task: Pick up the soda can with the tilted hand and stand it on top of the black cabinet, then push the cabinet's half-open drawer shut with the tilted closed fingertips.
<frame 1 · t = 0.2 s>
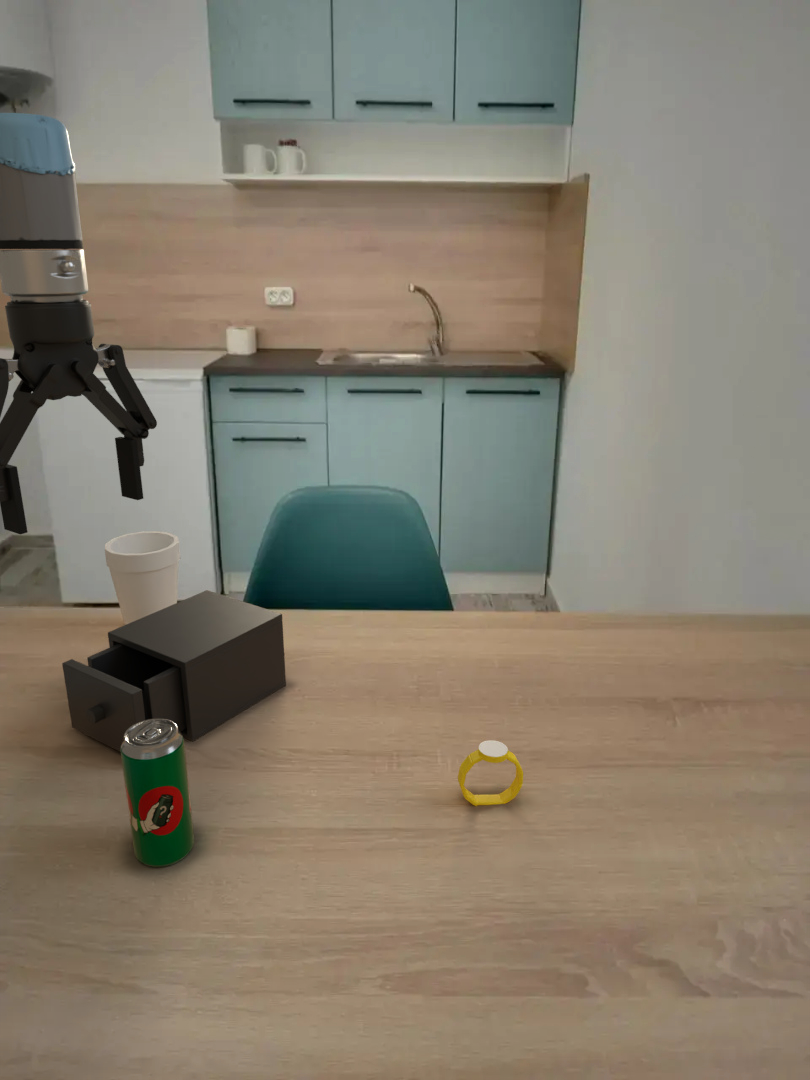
hand: (78, 513, 85), 24 cm above the table, tool pointing down, fingers open, 13 cm apart
soda can: (165, 852, 72), on the table
watch: (489, 803, 79), on the table
drawer: (148, 687, 90), point 5 cm above the table, slide at 5.0 cm
cabinet: (203, 697, 97), on the table
foam cup: (152, 633, 113), on the table
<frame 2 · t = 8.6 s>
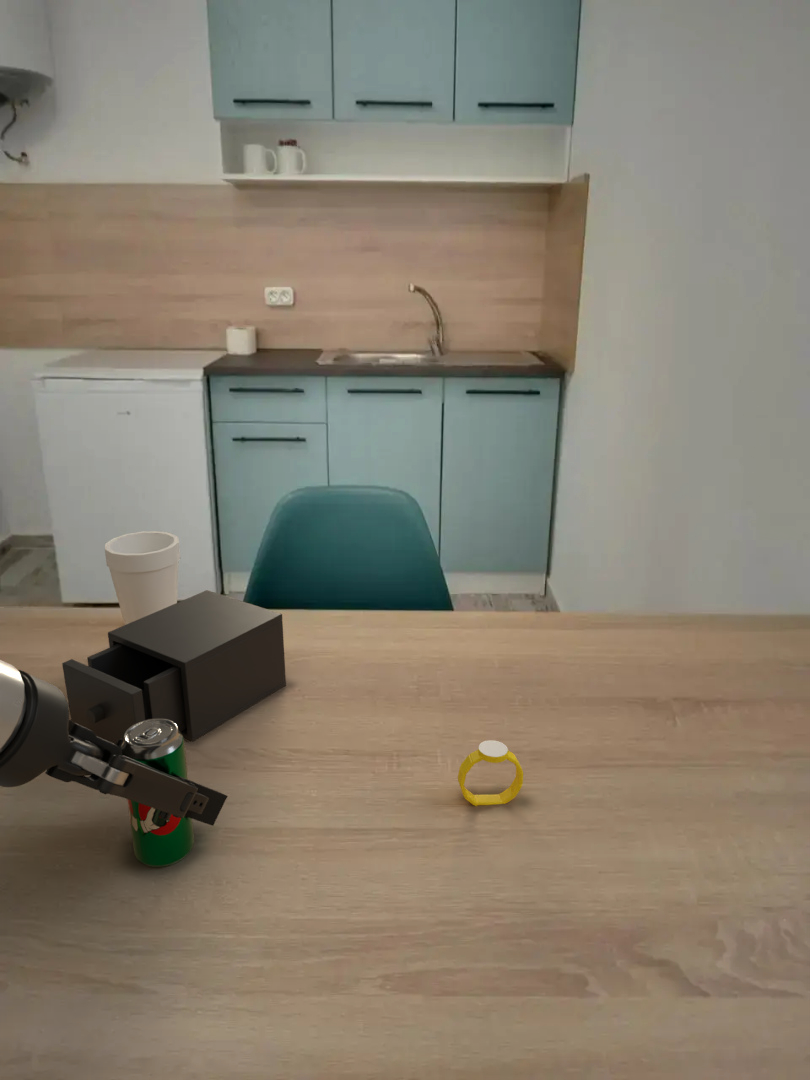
hand: (194, 797, 74), 3 cm above the table, tool tilted 45°, fingers closed on soda can, 5 cm apart
soda can: (165, 852, 72), on the table, touching gripper
everything else where it was.
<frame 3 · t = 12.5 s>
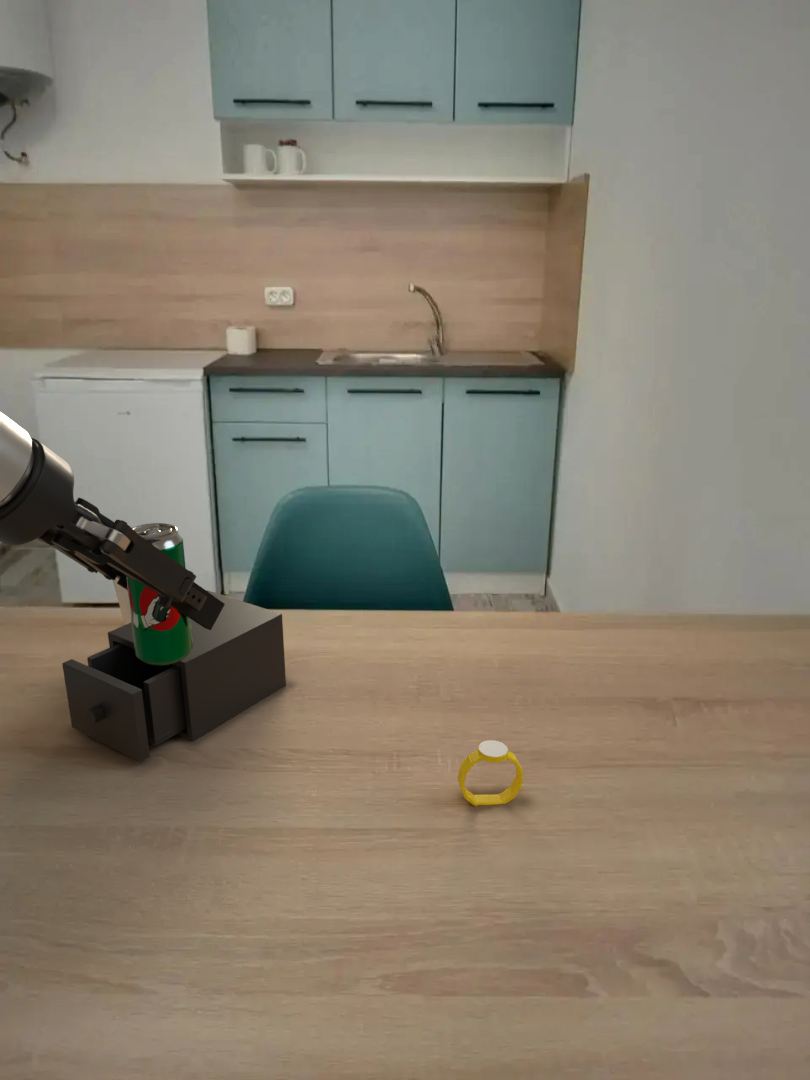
hand: (193, 608, 77), 18 cm above the table, tool tilted 45°, fingers closed on soda can, 5 cm apart
soda can: (164, 656, 76), point 14 cm above the table, touching gripper
everything else where it was.
when the fingers open (13 cm above the table, at t = 16.6 s): soda can stays where it is, resting on cabinet.
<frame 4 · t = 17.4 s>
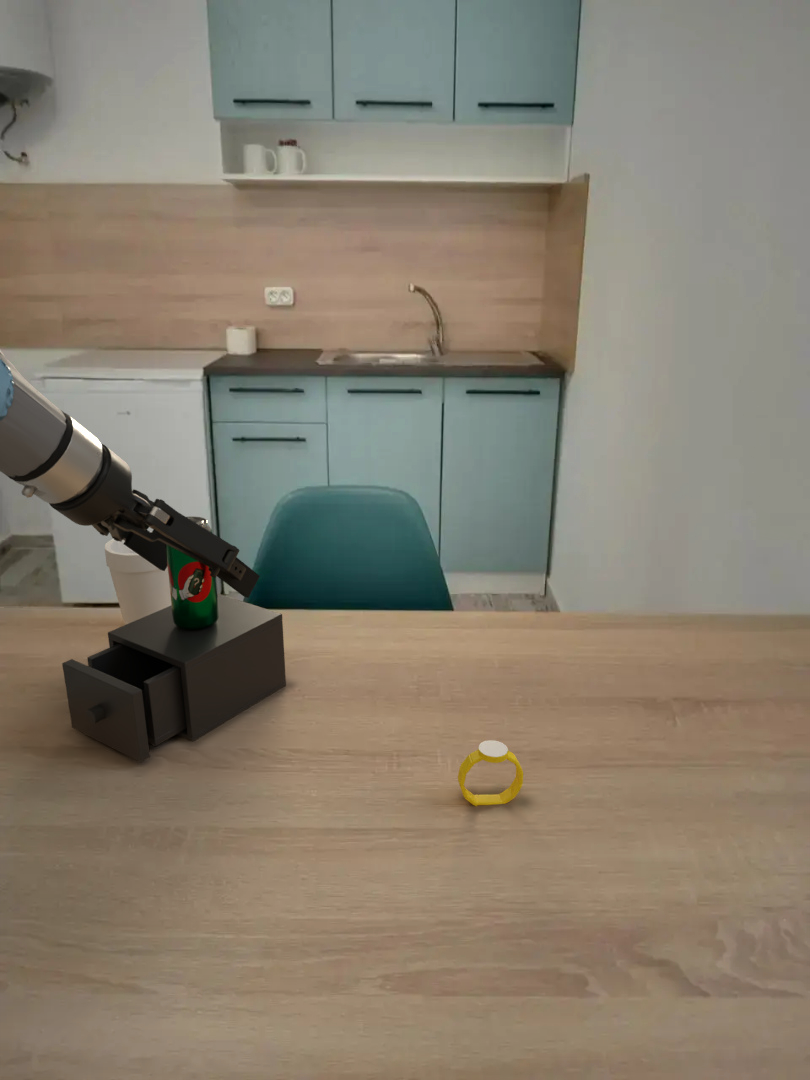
hand: (208, 573, 94), 15 cm above the table, tool tilted 45°, fingers open, 13 cm apart
soda can: (196, 624, 94), point 9 cm above the table, touching cabinet
everything else where it was.
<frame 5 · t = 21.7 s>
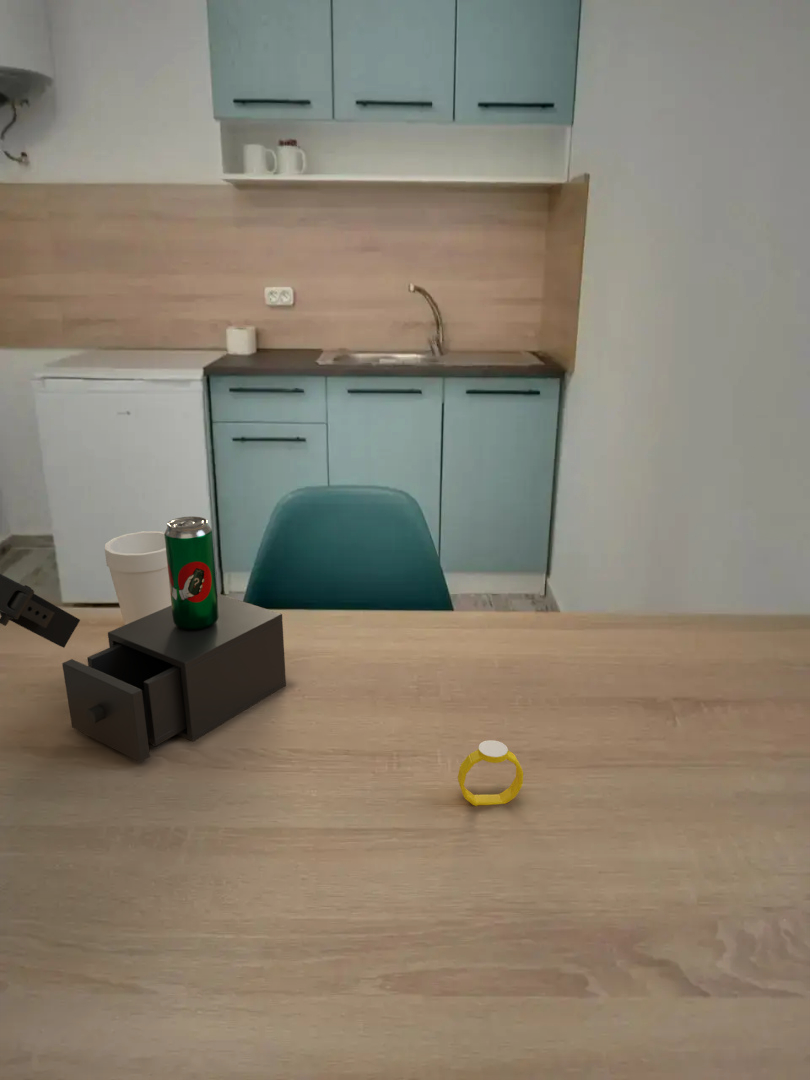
hand: (24, 614, 76), 18 cm above the table, tool tilted 45°, fingers open, 13 cm apart
nothing on the table moved.
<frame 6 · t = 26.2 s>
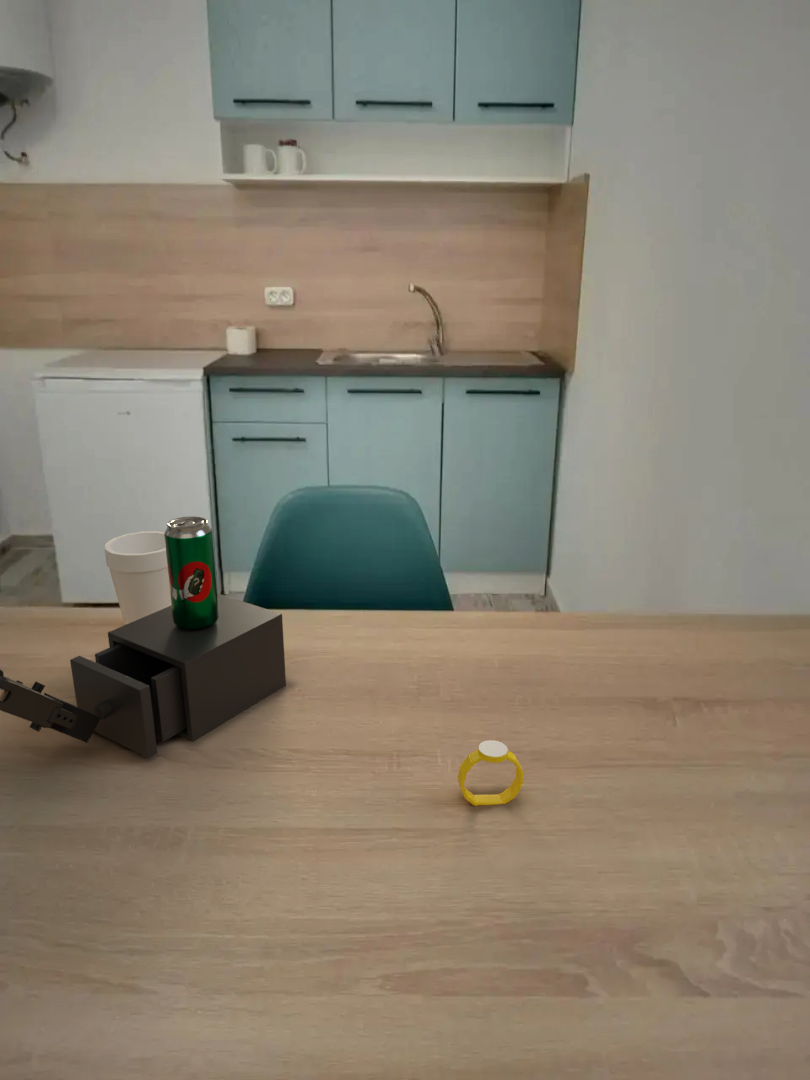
hand: (89, 727, 84), 4 cm above the table, tool tilted 45°, fingers closed
drawer: (155, 683, 90), point 5 cm above the table, slide at 4.1 cm, touching gripper
everything else where it was.
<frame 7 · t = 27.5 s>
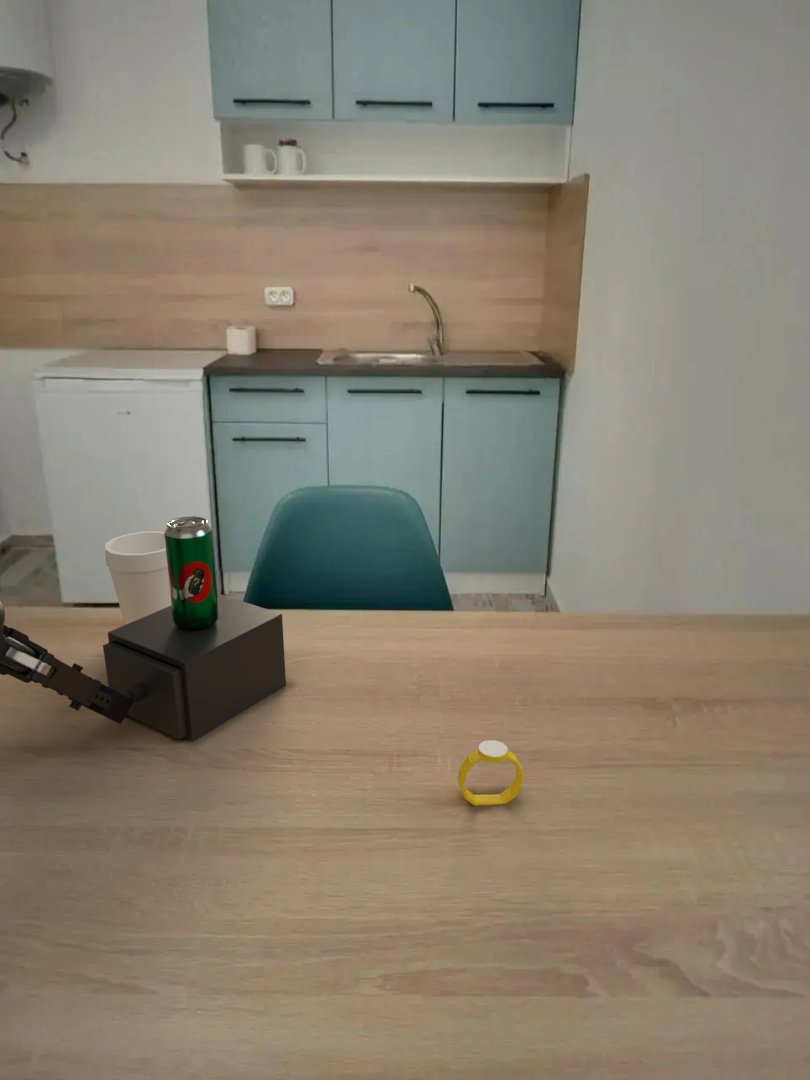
hand: (123, 710, 87), 4 cm above the table, tool tilted 45°, fingers closed
drawer: (184, 668, 94), point 5 cm above the table, slide at 0.0 cm, touching cabinet, gripper
everything else where it was.
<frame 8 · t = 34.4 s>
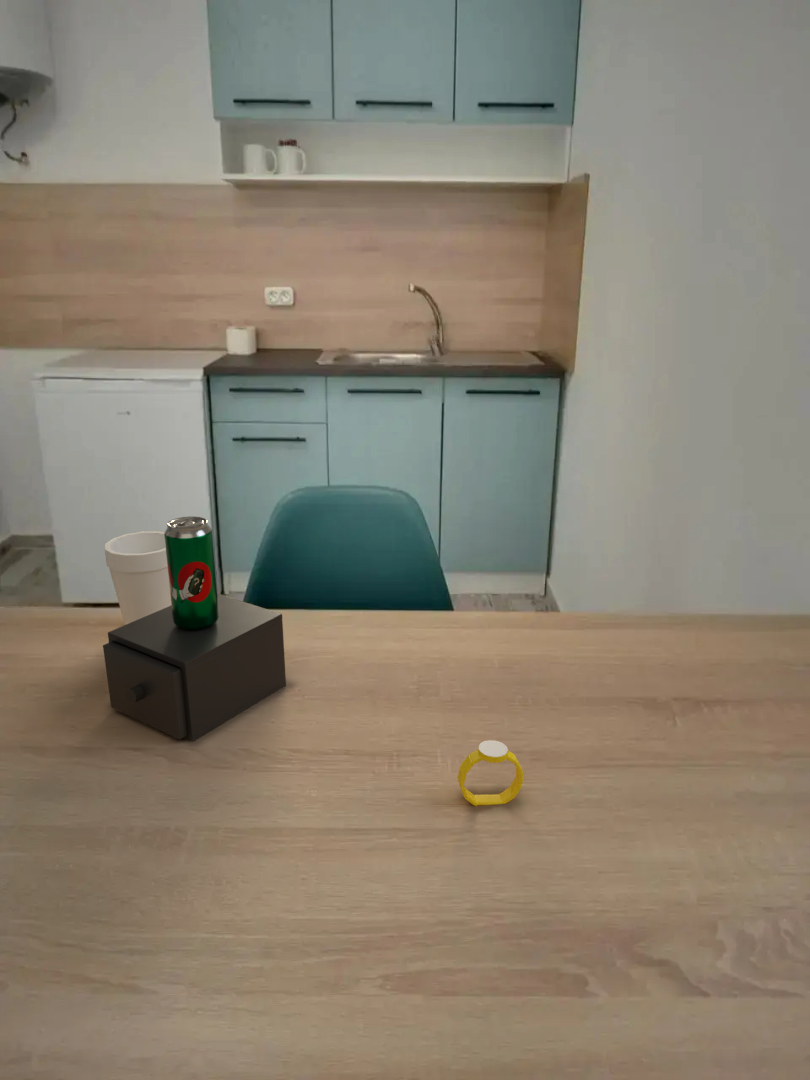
drawer: (184, 668, 94), point 5 cm above the table, slide at 0.0 cm
everything else where it was.
at the end: drawer slide at 0.0 cm; soda can inside the target area on the cabinet (0.0 cm from its centre), point 9.4 cm above the cabinet's base; soda can tilted 0° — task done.
